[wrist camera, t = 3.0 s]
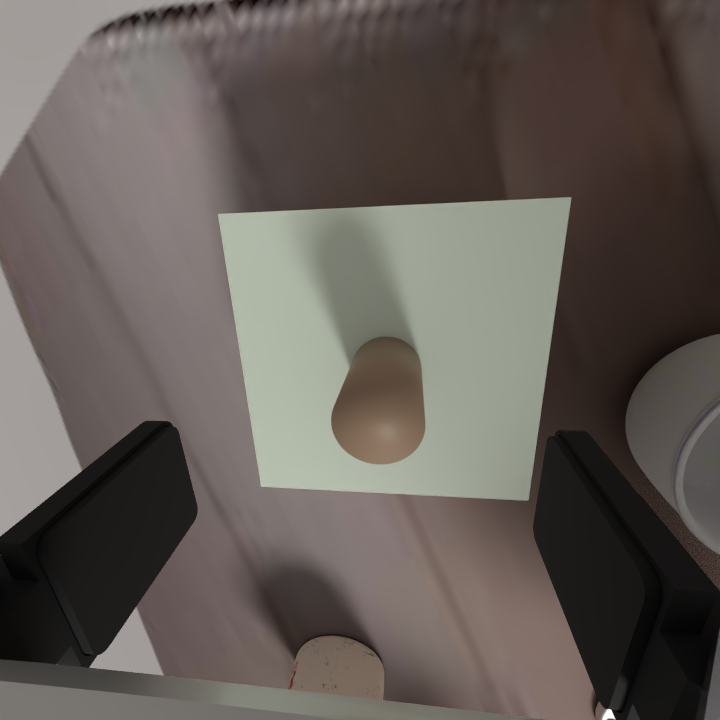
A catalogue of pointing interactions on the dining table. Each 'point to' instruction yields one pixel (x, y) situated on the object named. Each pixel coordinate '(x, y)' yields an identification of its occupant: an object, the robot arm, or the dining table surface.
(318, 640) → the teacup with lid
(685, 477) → the teacup
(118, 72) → the dining table surface
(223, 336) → the dining table surface
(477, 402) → the lid
